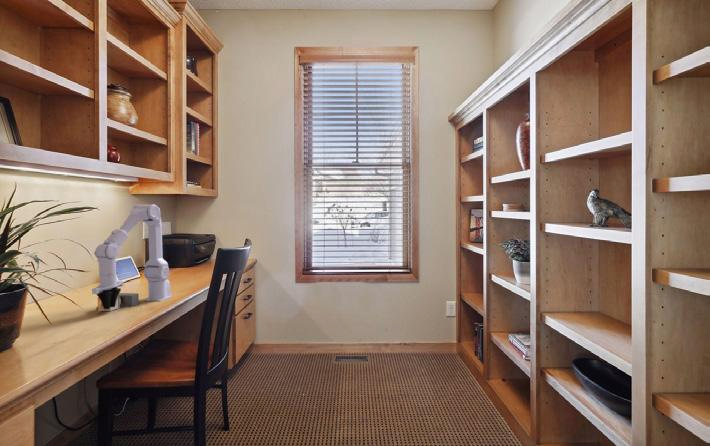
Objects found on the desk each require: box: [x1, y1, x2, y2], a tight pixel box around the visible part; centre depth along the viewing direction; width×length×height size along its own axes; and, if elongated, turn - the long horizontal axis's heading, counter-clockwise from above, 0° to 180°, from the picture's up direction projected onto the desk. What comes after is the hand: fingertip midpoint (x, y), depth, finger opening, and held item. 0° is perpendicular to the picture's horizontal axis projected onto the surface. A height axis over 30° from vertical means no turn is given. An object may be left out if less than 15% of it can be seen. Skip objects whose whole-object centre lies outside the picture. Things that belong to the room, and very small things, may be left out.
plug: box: [101, 296, 121, 312], centre depth 163 cm, size 7×4×5 cm, turn 172°
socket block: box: [95, 292, 140, 311], centre depth 167 cm, size 11×11×5 cm
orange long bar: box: [97, 296, 102, 312], centre depth 158 cm, size 12×1×4 cm, turn 33°
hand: (109, 307), depth 157 cm, fingers closed
